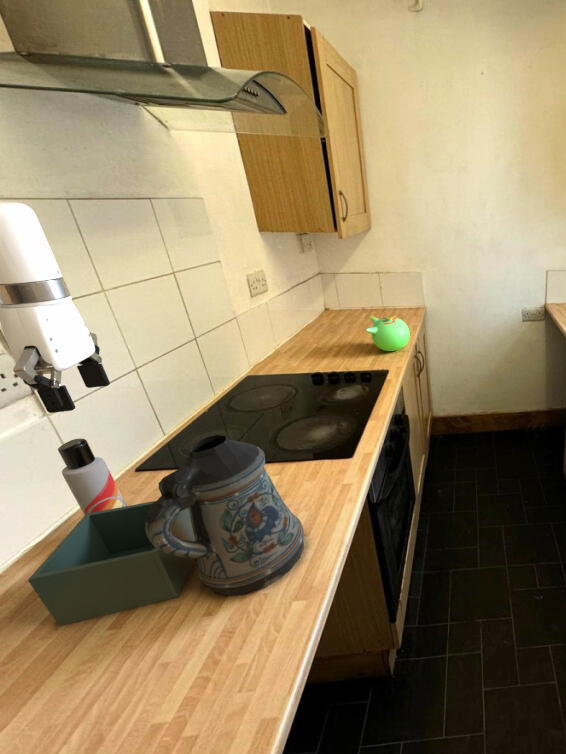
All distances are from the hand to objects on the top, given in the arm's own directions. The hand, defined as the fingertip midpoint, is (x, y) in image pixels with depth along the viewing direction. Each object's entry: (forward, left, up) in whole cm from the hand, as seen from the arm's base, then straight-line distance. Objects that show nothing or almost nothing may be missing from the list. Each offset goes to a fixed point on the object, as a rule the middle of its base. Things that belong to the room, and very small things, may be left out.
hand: (81, 397), depth 68 cm
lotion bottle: (-7, +5, -30) cm, 31 cm away
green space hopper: (+51, +99, -30) cm, 115 cm away
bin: (+3, -10, -30) cm, 32 cm away
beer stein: (+21, -14, -30) cm, 39 cm away
